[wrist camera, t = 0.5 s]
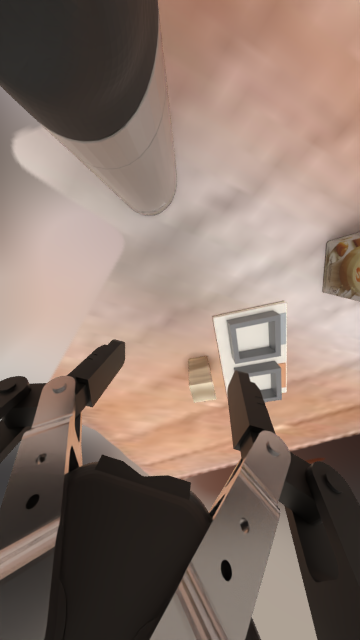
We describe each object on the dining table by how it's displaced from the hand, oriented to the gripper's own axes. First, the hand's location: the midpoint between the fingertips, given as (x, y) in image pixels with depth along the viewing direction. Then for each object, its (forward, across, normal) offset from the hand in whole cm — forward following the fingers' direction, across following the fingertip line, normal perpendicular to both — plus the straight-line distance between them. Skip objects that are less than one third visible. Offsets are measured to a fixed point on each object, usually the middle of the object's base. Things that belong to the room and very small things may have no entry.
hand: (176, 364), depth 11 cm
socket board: (+22, -15, +13) cm, 29 cm away
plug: (+20, -4, +18) cm, 27 cm away
